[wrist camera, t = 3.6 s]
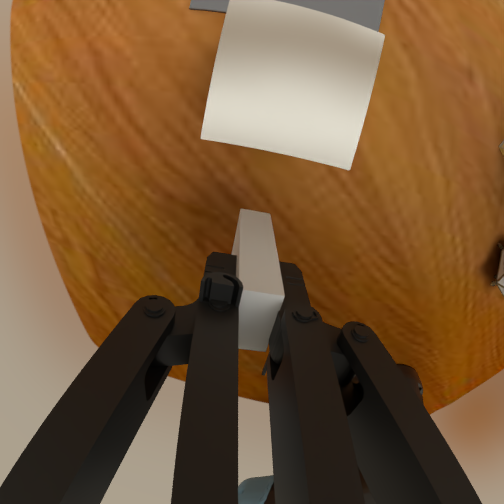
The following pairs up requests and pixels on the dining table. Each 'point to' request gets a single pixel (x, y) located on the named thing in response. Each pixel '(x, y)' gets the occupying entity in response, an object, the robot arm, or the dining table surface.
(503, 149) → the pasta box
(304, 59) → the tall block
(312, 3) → the mat
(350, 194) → the dining table surface
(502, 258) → the game die
